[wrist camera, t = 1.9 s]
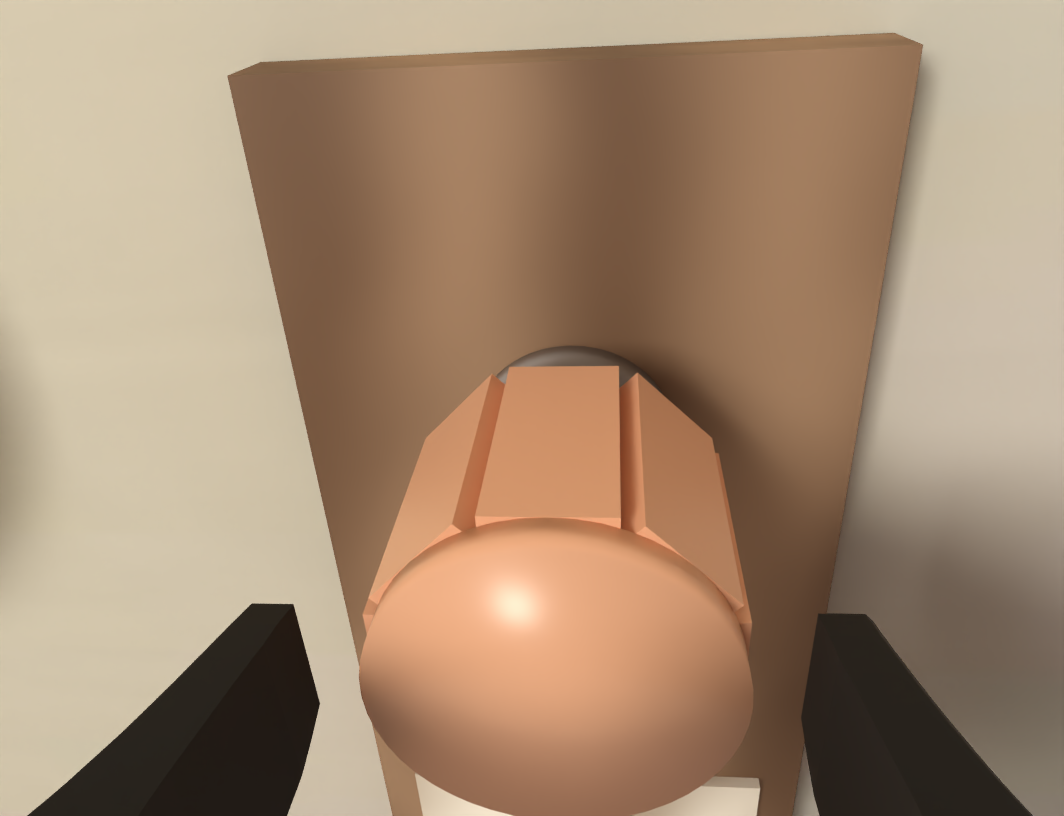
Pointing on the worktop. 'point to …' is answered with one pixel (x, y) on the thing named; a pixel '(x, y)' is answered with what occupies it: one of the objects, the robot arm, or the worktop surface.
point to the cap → (562, 602)
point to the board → (594, 290)
